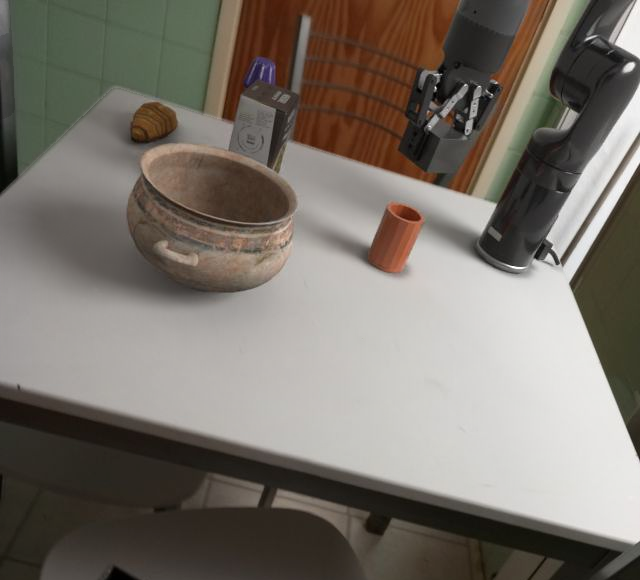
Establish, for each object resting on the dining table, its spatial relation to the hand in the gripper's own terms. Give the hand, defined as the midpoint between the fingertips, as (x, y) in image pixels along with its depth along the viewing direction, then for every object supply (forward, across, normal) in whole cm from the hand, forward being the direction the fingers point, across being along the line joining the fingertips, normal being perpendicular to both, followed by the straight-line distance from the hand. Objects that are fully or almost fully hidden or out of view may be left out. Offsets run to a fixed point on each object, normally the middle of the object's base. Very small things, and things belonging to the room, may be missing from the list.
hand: (429, 157), depth 89 cm
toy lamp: (+16, -10, +26) cm, 32 cm away
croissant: (+16, -18, +38) cm, 45 cm away
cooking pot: (+16, -30, +1) cm, 34 cm away
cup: (+16, 0, 0) cm, 16 cm away
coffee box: (+16, -15, +16) cm, 27 cm away
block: (+1, 0, 0) cm, 1 cm away
